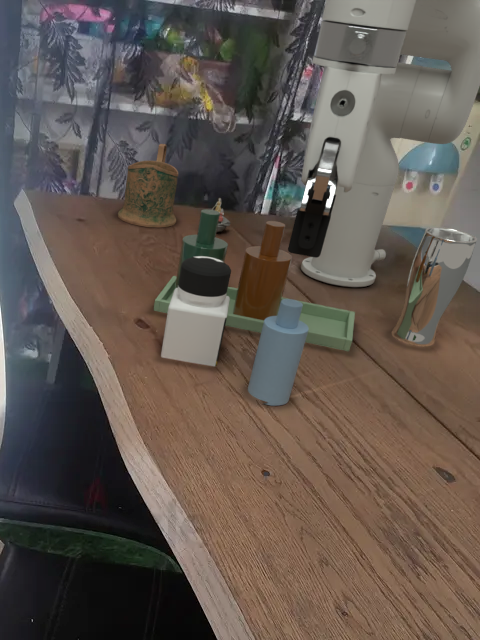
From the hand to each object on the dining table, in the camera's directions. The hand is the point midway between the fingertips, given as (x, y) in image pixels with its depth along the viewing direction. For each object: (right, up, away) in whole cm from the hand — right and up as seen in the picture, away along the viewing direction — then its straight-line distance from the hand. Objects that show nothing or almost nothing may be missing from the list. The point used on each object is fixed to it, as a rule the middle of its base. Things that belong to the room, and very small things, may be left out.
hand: (307, 242), depth 77 cm
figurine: (+1, +26, +66) cm, 70 cm away
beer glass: (+24, -4, +30) cm, 38 cm away
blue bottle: (-2, -14, +11) cm, 18 cm away
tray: (+1, 0, +30) cm, 30 cm away
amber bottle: (+1, 0, +30) cm, 30 cm away
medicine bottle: (-10, -8, +19) cm, 23 cm away
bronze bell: (-11, +31, +71) cm, 78 cm away
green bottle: (-8, +3, +32) cm, 33 cm away
